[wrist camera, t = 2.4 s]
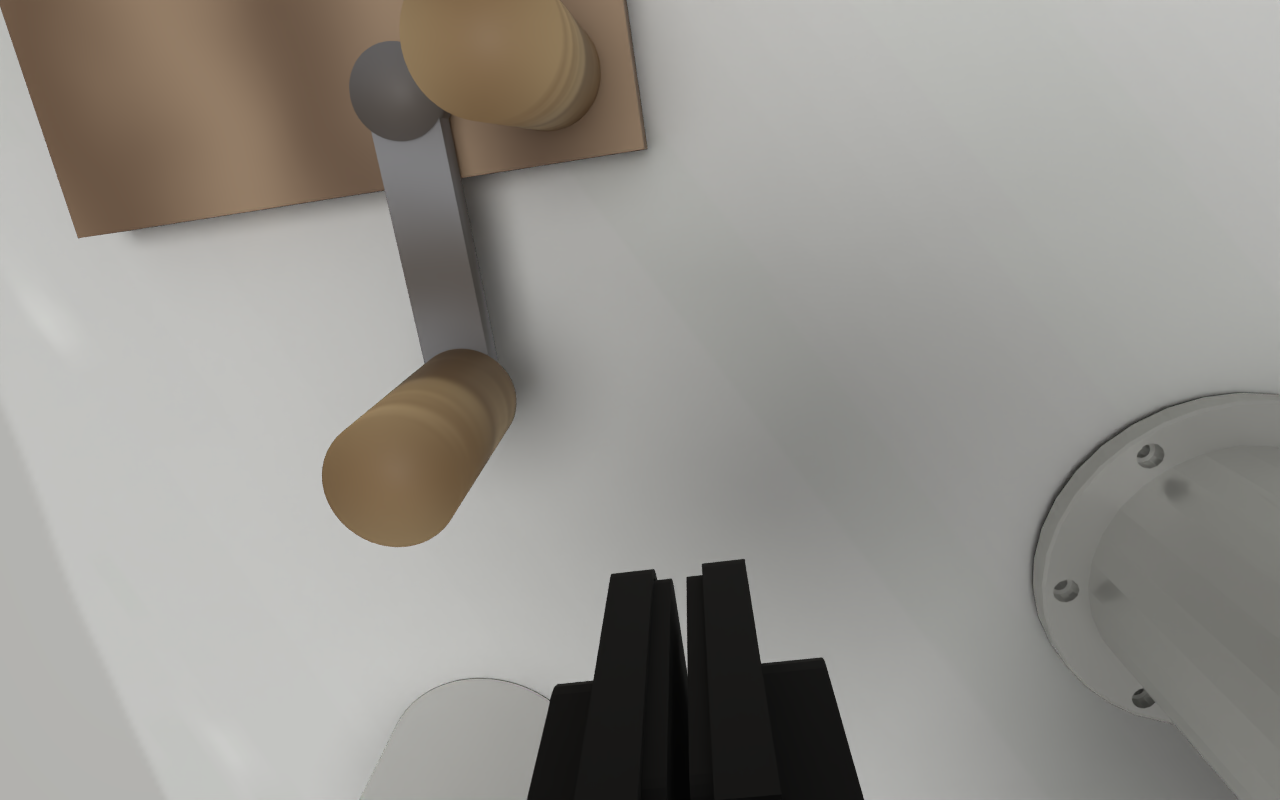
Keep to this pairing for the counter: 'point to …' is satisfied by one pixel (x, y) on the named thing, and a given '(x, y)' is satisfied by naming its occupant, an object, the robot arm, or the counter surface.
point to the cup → (463, 744)
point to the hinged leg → (421, 330)
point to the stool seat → (305, 95)
